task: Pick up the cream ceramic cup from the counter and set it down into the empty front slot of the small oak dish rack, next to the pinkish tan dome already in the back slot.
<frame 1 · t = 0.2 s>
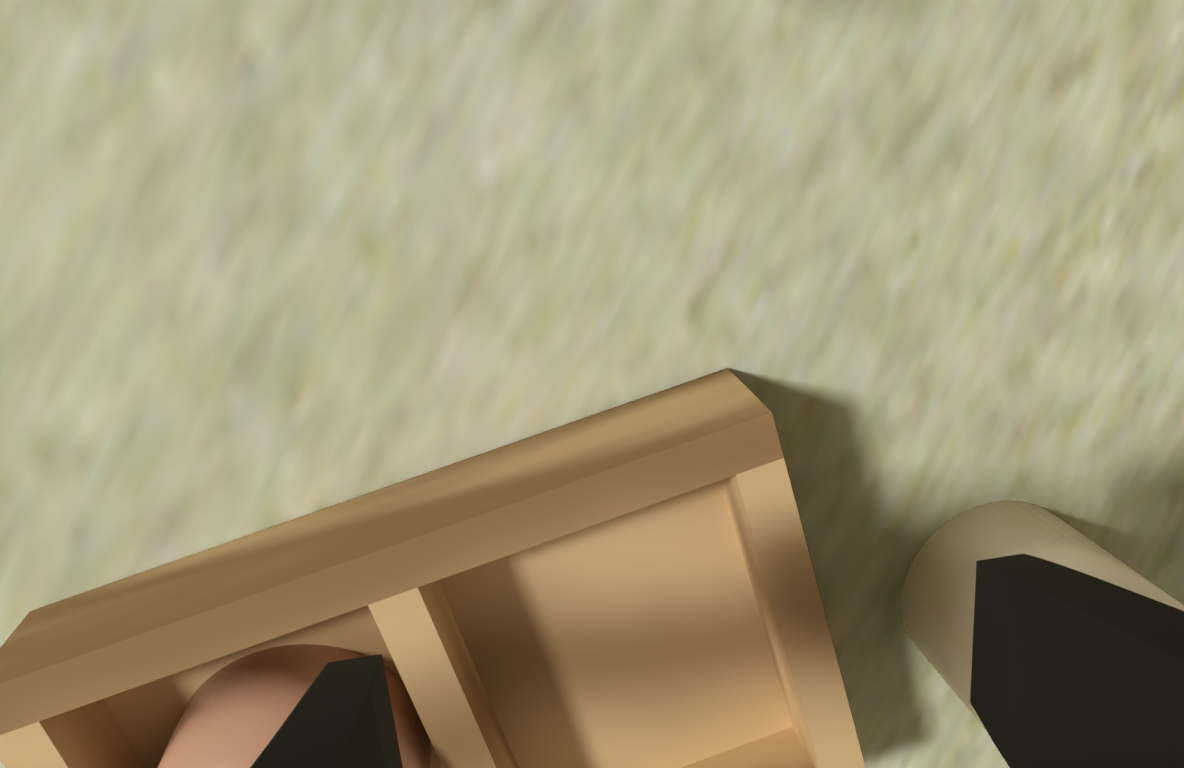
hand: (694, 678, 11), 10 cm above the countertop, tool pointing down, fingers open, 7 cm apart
pinkish tan dome: (305, 752, 21), point 1 cm above the countertop, touching rack
cup: (990, 587, 23), on the countertop
rack: (463, 669, 22), on the countertop
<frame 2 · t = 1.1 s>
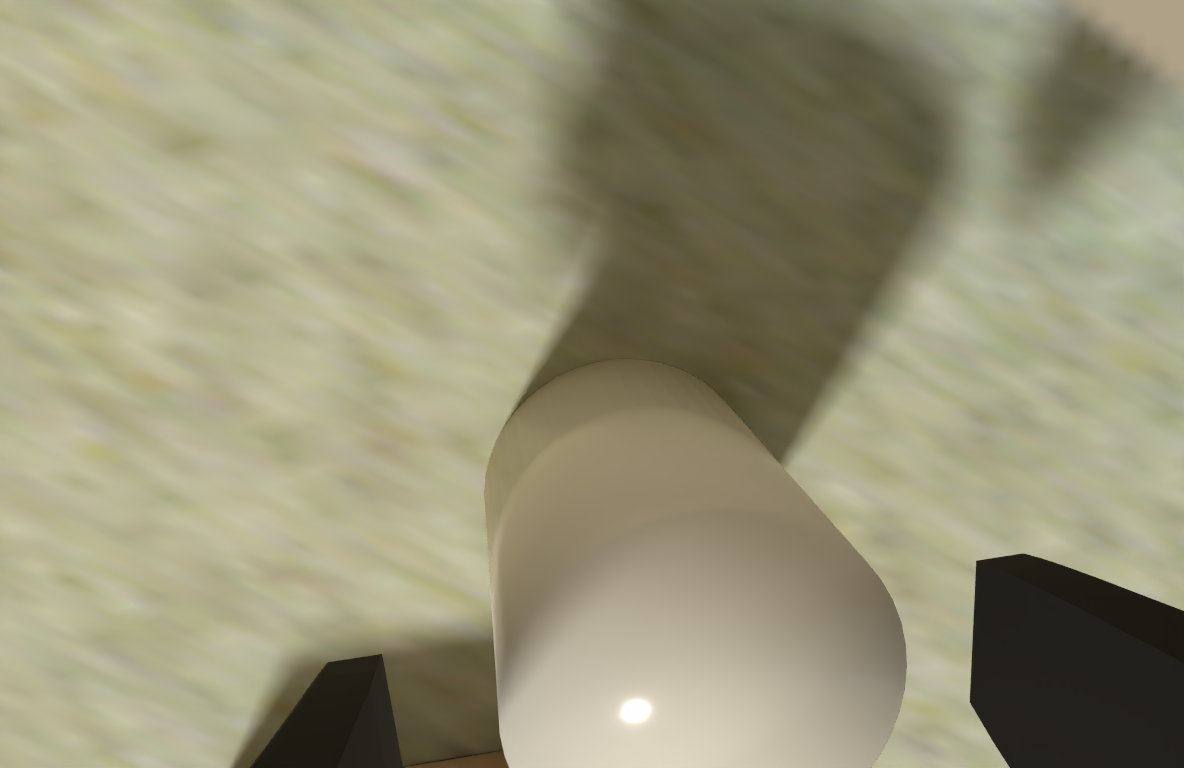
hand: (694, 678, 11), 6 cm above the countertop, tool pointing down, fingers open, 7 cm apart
cup: (620, 489, 16), on the countertop
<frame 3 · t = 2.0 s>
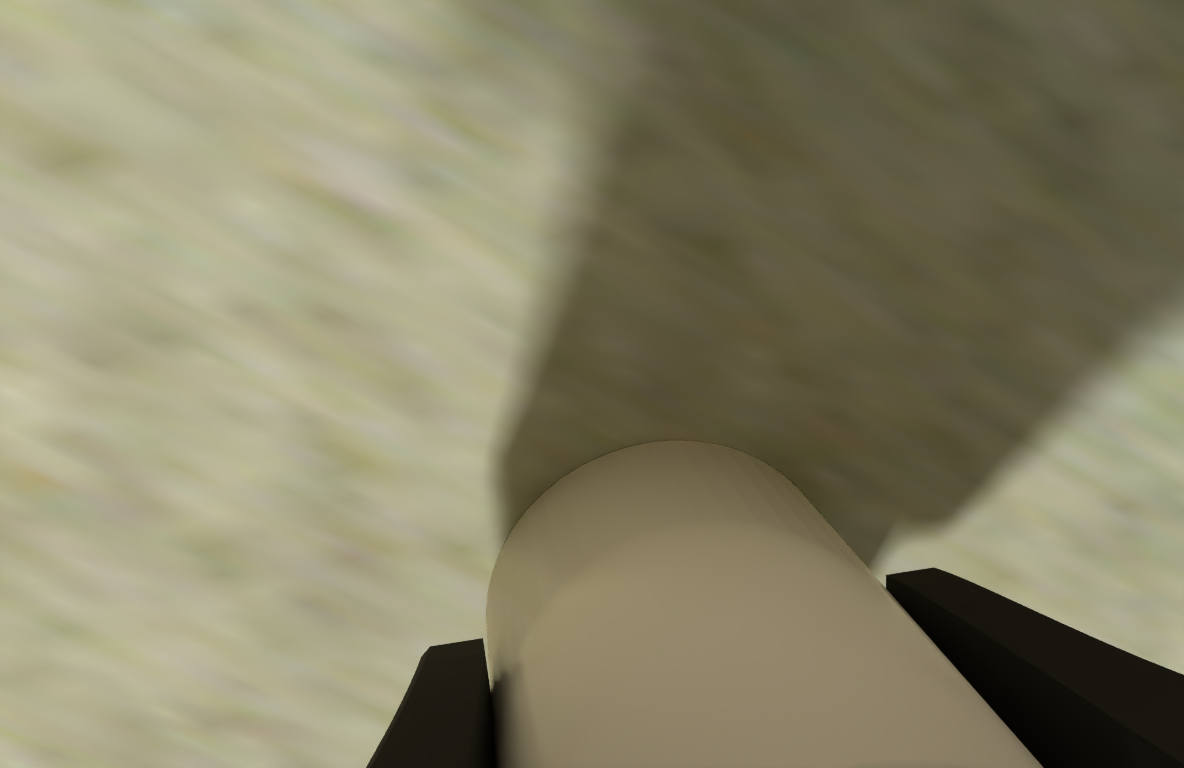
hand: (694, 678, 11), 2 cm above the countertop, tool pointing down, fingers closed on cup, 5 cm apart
cup: (664, 606, 12), on the countertop, touching gripper
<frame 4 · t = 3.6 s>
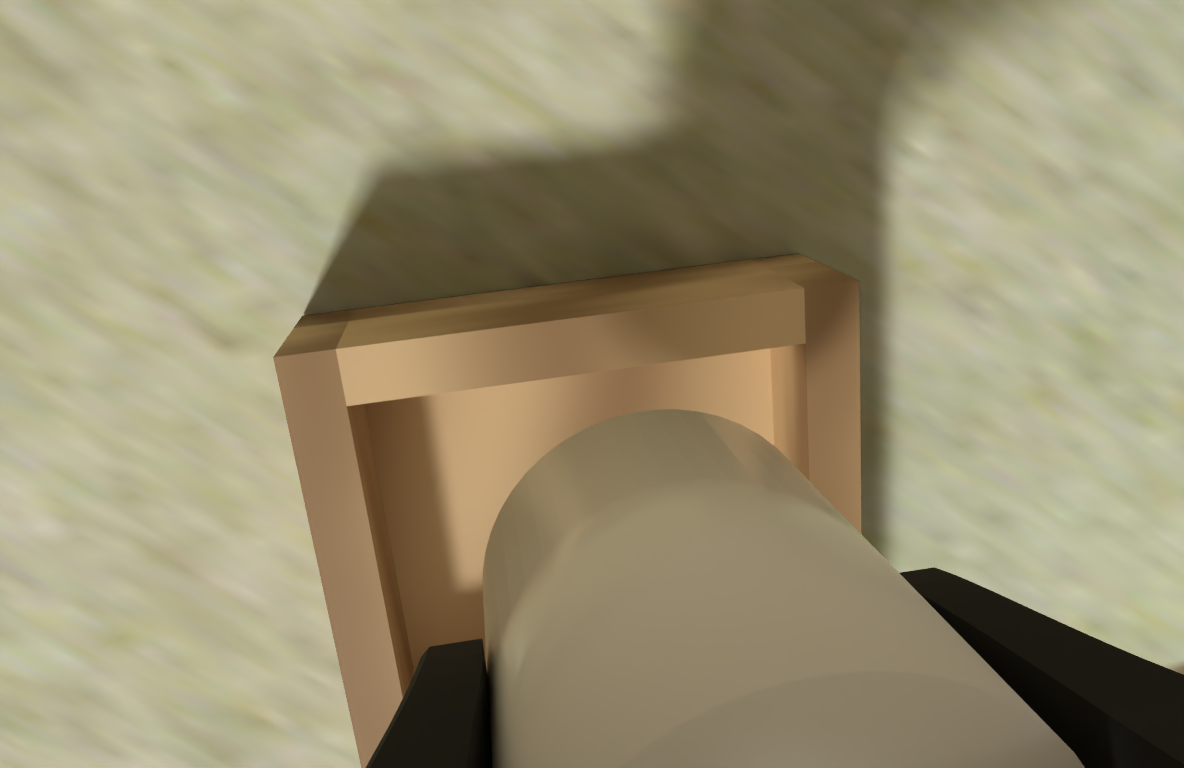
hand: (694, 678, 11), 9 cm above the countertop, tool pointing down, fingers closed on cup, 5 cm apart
cup: (657, 575, 13), point 7 cm above the countertop, touching gripper
rack: (596, 629, 21), on the countertop
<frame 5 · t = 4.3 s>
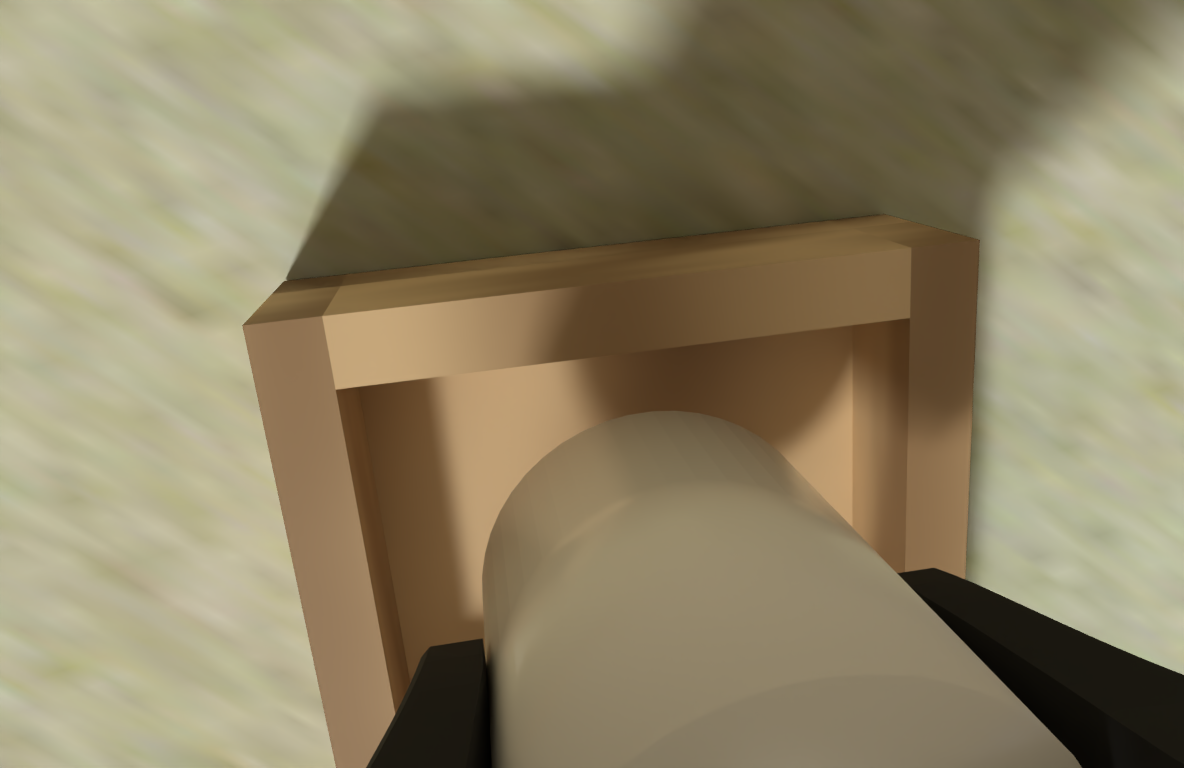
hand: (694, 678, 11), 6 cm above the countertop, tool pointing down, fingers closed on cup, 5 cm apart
cup: (657, 576, 13), point 4 cm above the countertop, touching gripper
rack: (631, 662, 18), on the countertop
when the fingers open (4 cm above the countertop, at t = 5.1 s): cup drops 1 cm, resting on rack.
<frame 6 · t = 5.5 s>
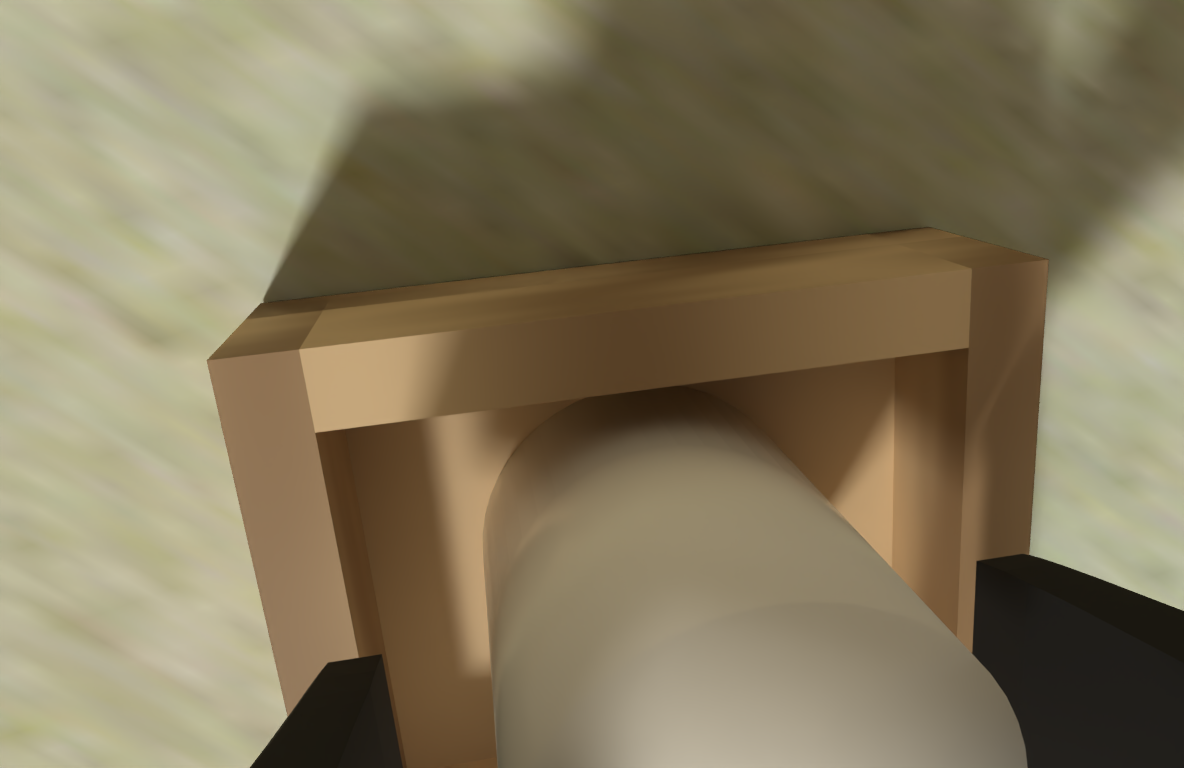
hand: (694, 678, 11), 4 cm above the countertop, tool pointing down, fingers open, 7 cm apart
cup: (642, 536, 14), point 1 cm above the countertop, touching rack
rack: (646, 716, 16), on the countertop
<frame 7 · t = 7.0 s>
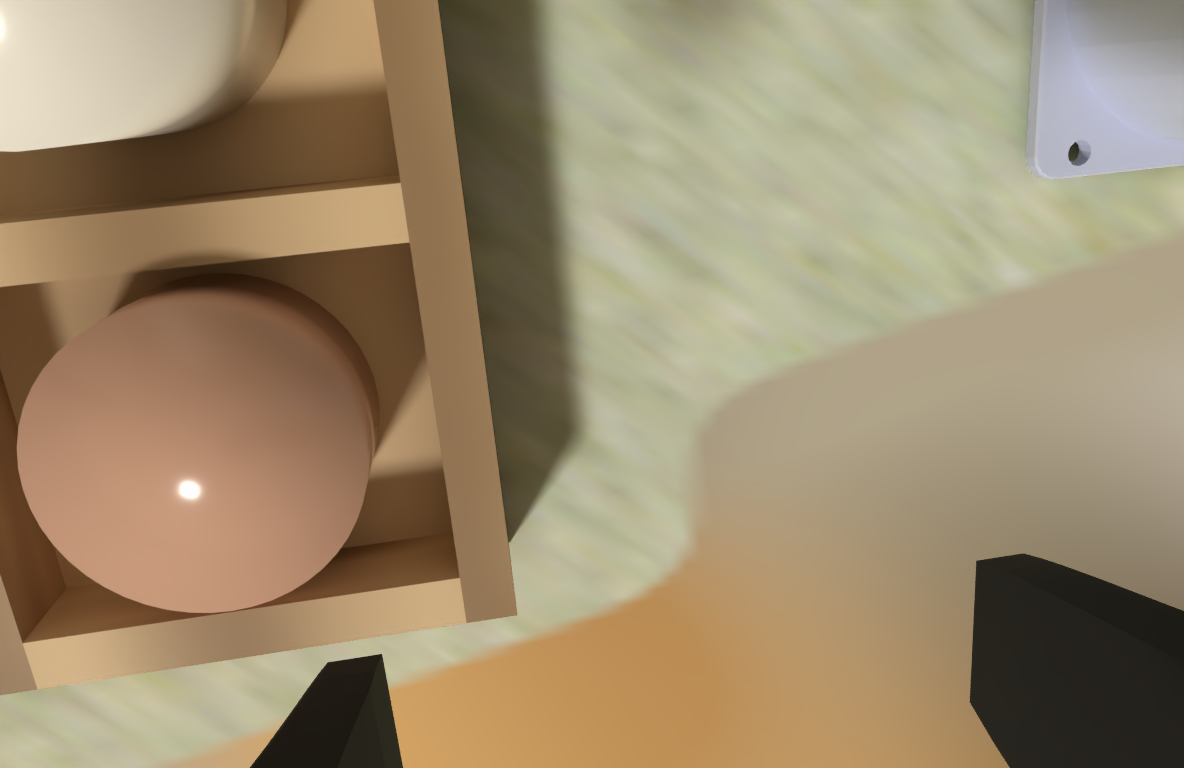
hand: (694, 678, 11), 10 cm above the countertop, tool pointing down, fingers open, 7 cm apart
pinkish tan dome: (234, 412, 18), point 1 cm above the countertop, touching rack
rack: (206, 216, 18), on the countertop
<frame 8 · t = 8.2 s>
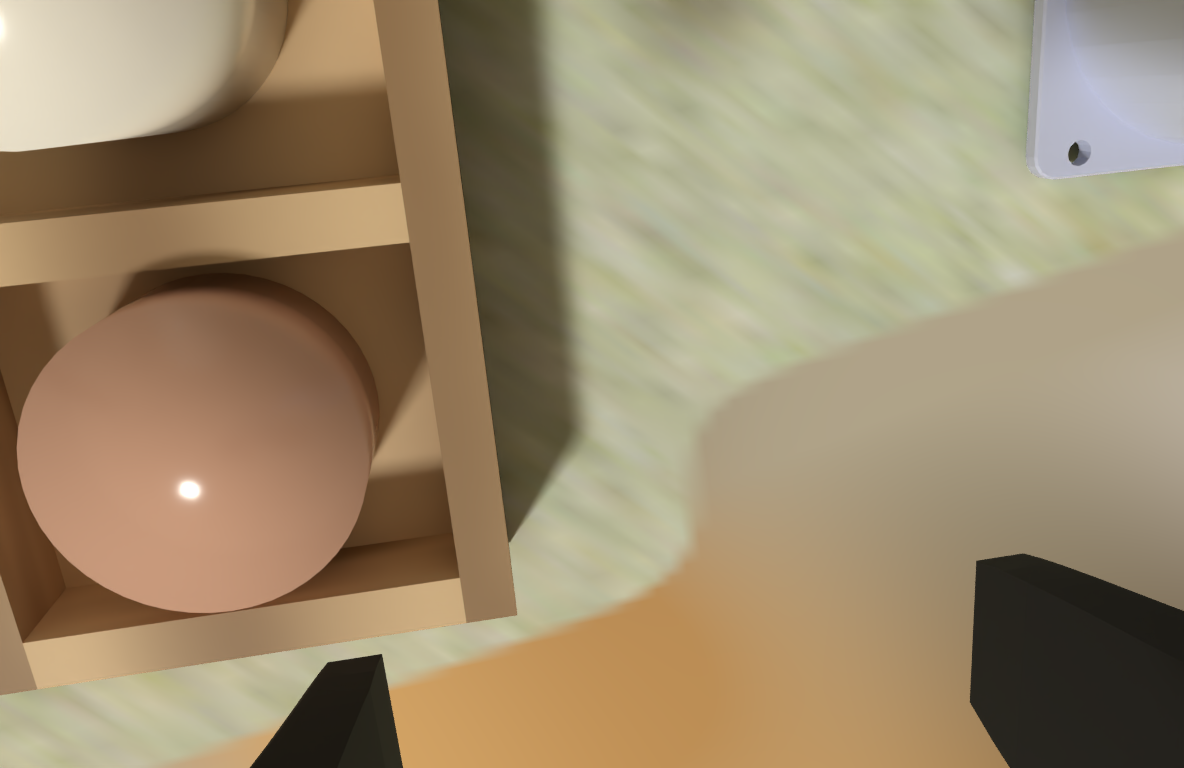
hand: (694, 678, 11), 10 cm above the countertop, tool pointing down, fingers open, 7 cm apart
pinkish tan dome: (234, 412, 18), point 1 cm above the countertop, touching rack
rack: (206, 216, 18), on the countertop
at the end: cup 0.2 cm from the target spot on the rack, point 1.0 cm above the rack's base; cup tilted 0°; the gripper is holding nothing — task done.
